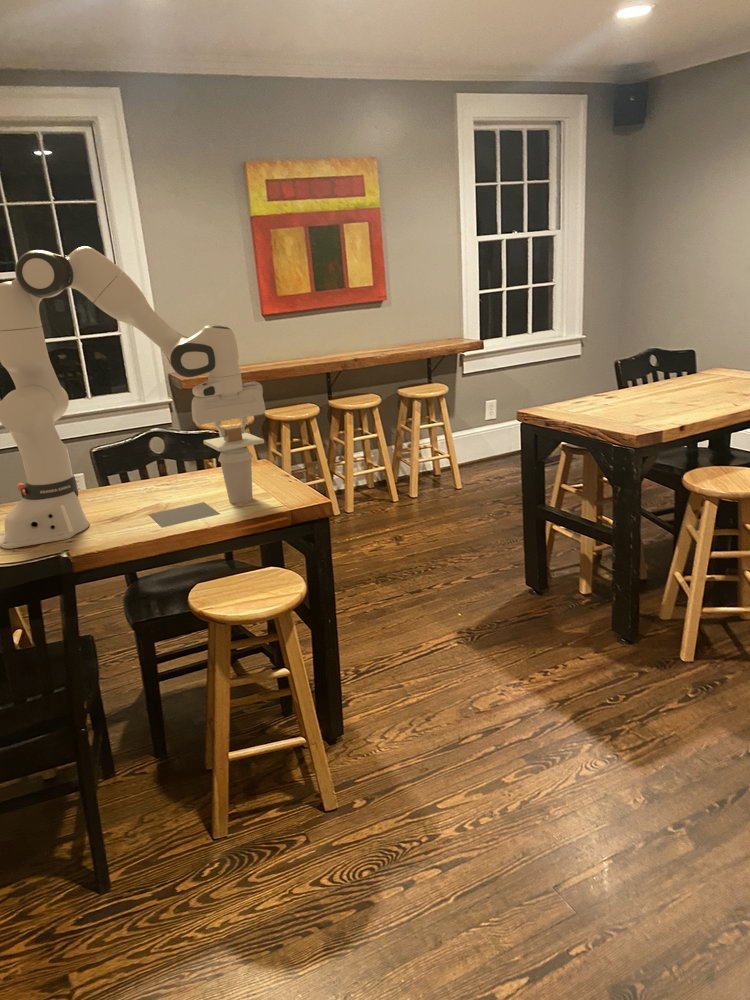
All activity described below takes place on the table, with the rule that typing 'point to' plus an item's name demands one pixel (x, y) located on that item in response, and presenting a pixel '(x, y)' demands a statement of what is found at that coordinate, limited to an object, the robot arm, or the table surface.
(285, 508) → the table surface
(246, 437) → the lid
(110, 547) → the table surface
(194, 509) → the mat
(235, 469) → the coffee cup
